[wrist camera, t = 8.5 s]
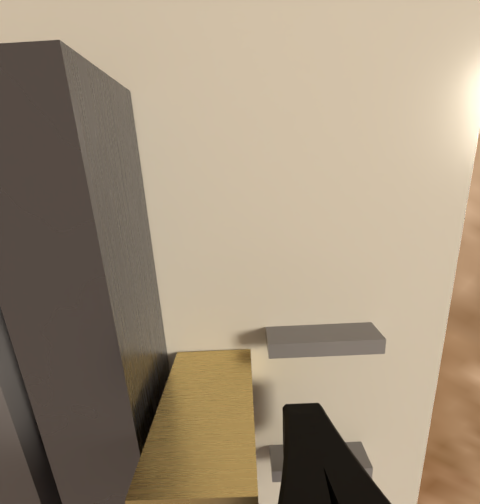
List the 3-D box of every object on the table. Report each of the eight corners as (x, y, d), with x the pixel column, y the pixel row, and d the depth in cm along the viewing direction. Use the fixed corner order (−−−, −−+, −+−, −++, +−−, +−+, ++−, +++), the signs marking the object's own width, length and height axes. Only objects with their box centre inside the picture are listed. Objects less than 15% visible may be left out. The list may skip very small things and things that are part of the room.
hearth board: (393, 523, 14) (457, 671, 10) (-12, 536, 14) (-114, 684, 10) (487, -141, 7) (813, -555, 3) (-282, -84, 7) (-904, -387, 3)
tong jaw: (188, 503, 12) (165, 645, 8) (132, 505, 12) (86, 646, 8) (130, 90, 7) (33, 20, 4) (44, 96, 7) (-127, 30, 4)
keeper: (255, 440, 11) (264, 624, 6) (189, 443, 11) (154, 627, 6) (250, 349, 10) (258, 496, 5) (177, 352, 10) (124, 500, 5)
